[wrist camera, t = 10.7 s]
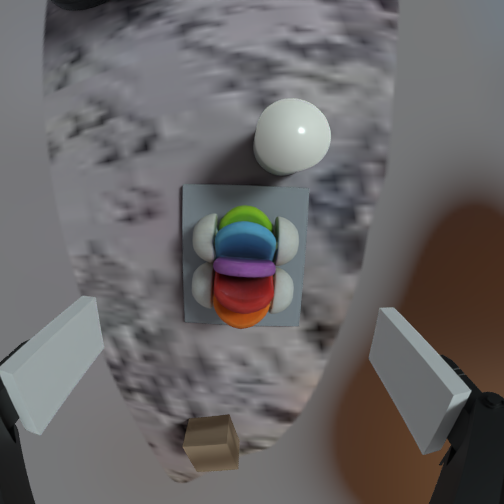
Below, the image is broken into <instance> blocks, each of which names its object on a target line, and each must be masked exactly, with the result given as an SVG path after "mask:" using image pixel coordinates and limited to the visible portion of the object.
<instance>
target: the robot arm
mask: <svg viewBox="0 0 504 504" xmlns="http://www.w3.org/2000/svg"><path fill="white" fill-rule="evenodd" d="M51 1H52V2H54V3H55V4H56V5H58V6H59V7H60V8H63V9H66V10H82V9H87V8H91V7H94V6H97V5H100V4H102V3H104V2H107V1H109V0H51ZM103 349H104V344H103V339H102V333H101V328H100V322H99V316H98V310H97V303H96V297H88V296H82V297H80V298H79V299H78V300H77V301H75V302H74V303H73V304H72V305H71V306H69V307H68V308H67V309H66V310H65V311H63V312H62V313H61V314H60V315H58V316H57V317H56V318H55V319H54V320H52V321H51V322H50V323H49V324H48V325H46V326H45V327H44V328H43V329H42V330H41V331H39V332H38V333H37V334H36V335H35V336H34V337H33V338H31V339H29V340H27V341H25V342H23V343H21V344H20V345H19V346H18V347H17V348H16V349H14V351H12V352H11V353H10V354H9V356H7V357H5V358H4V359H3V360H2V361H1V362H0V504H35V501H34V498H33V495H32V491H31V488H30V484H29V480H28V476H27V472H26V468H25V463H24V459H23V454H22V449H21V444H20V438H19V432H18V429H17V427H16V425H15V423H16V421H17V420H18V419H20V420H21V423H22V424H23V426H24V428H25V430H27V431H30V432H33V433H35V434H37V435H41V434H42V433H43V431H44V430H45V428H46V427H47V425H48V424H49V422H50V421H51V420H52V418H53V417H54V415H55V414H56V412H57V411H58V410H59V408H60V406H61V405H62V404H63V402H64V401H65V400H66V398H67V397H68V396H69V394H70V393H71V391H72V390H73V388H74V387H75V386H76V385H77V383H78V382H79V381H80V379H81V378H82V376H83V375H84V374H85V372H86V371H87V370H88V368H89V367H90V366H91V364H92V363H93V362H94V360H95V359H96V358H97V357H98V355H99V354H100V353H101V351H102V350H103ZM369 360H370V362H371V363H372V365H373V367H374V369H375V370H376V372H377V374H378V375H379V377H380V379H381V381H382V382H383V384H384V386H385V387H386V389H387V391H388V393H389V394H390V396H391V398H392V400H393V401H394V403H395V405H396V407H397V408H398V410H399V412H400V414H401V416H402V417H403V419H404V421H405V423H406V424H407V426H408V428H409V430H410V432H411V434H412V435H413V437H414V439H415V441H416V443H417V445H418V447H419V448H420V450H421V452H422V454H423V455H424V454H428V453H432V452H435V451H438V450H440V449H441V448H442V446H443V444H444V443H445V441H446V439H448V440H449V442H450V443H451V446H450V448H449V450H448V451H447V453H446V454H445V456H444V457H443V459H442V461H441V462H440V464H439V465H442V464H443V462H444V464H443V467H442V470H441V473H440V476H439V479H438V482H437V484H436V487H435V490H434V492H433V495H432V497H431V500H430V502H429V504H504V398H503V397H501V396H500V395H499V394H496V393H493V392H483V393H482V392H481V391H480V390H479V389H478V388H477V386H476V385H475V384H474V383H473V382H472V381H471V380H470V379H469V378H468V377H467V375H464V372H463V371H462V370H461V369H459V367H458V366H457V365H456V364H455V363H454V362H453V361H452V360H451V359H449V358H447V357H446V356H444V355H439V354H438V353H437V352H436V351H435V350H434V349H433V348H432V347H431V346H430V345H429V343H427V341H426V340H425V339H424V338H423V337H422V336H421V335H420V334H419V333H418V332H417V331H416V330H415V329H414V328H413V327H412V326H411V325H410V324H409V323H408V322H407V321H406V319H405V318H403V316H402V315H401V314H400V313H398V311H397V310H396V309H395V308H379V313H378V318H377V323H376V328H375V333H374V337H373V342H372V346H371V350H370V355H369Z"/></svg>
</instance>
